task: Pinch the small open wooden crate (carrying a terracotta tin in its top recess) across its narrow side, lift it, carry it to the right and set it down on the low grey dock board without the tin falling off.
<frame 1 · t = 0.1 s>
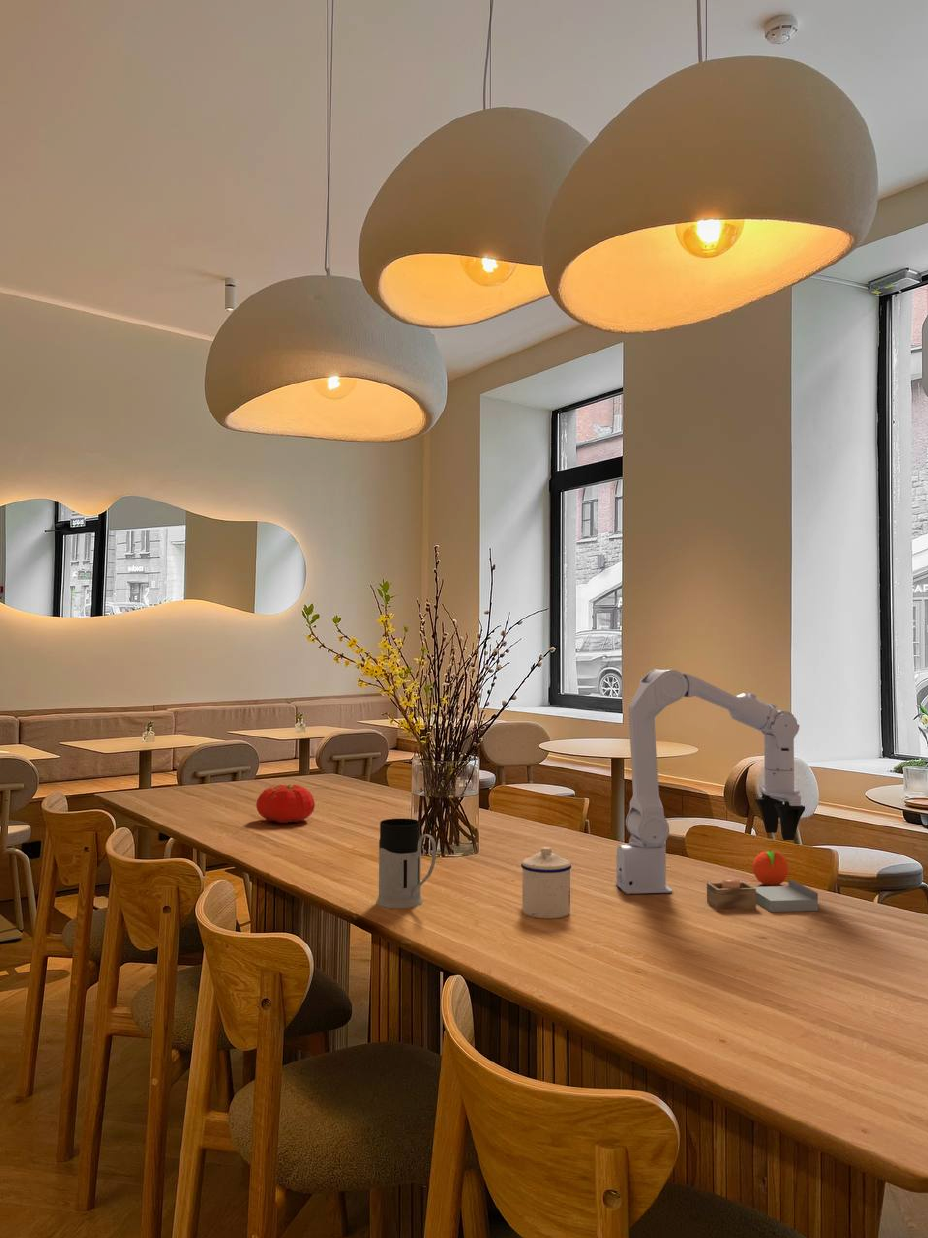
hand: (779, 836, 186), 10 cm above the table, tool pointing down, fingers open, 7 cm apart
red fruit: (770, 887, 185), on the table
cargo: (730, 891, 171), point 3 cm above the table, touching open wooden crate
open wooden crate: (731, 907, 171), on the table, touching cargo
tomato: (285, 822, 253), on the table
dock: (782, 903, 172), on the table
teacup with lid: (541, 911, 167), on the table
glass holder: (409, 905, 170), on the table
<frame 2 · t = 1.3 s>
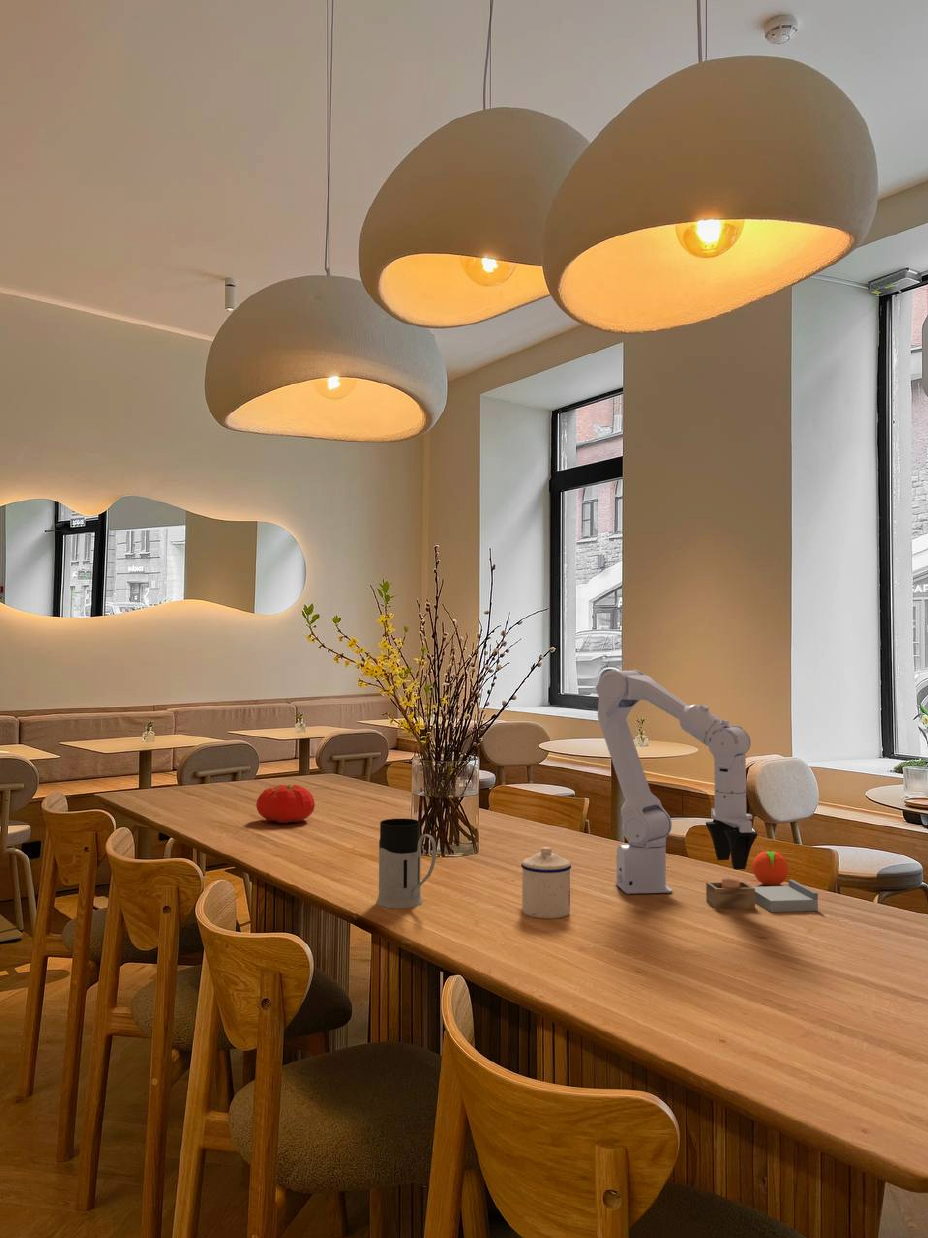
hand: (731, 864, 171), 8 cm above the table, tool pointing down, fingers open, 7 cm apart
nothing on the table moved.
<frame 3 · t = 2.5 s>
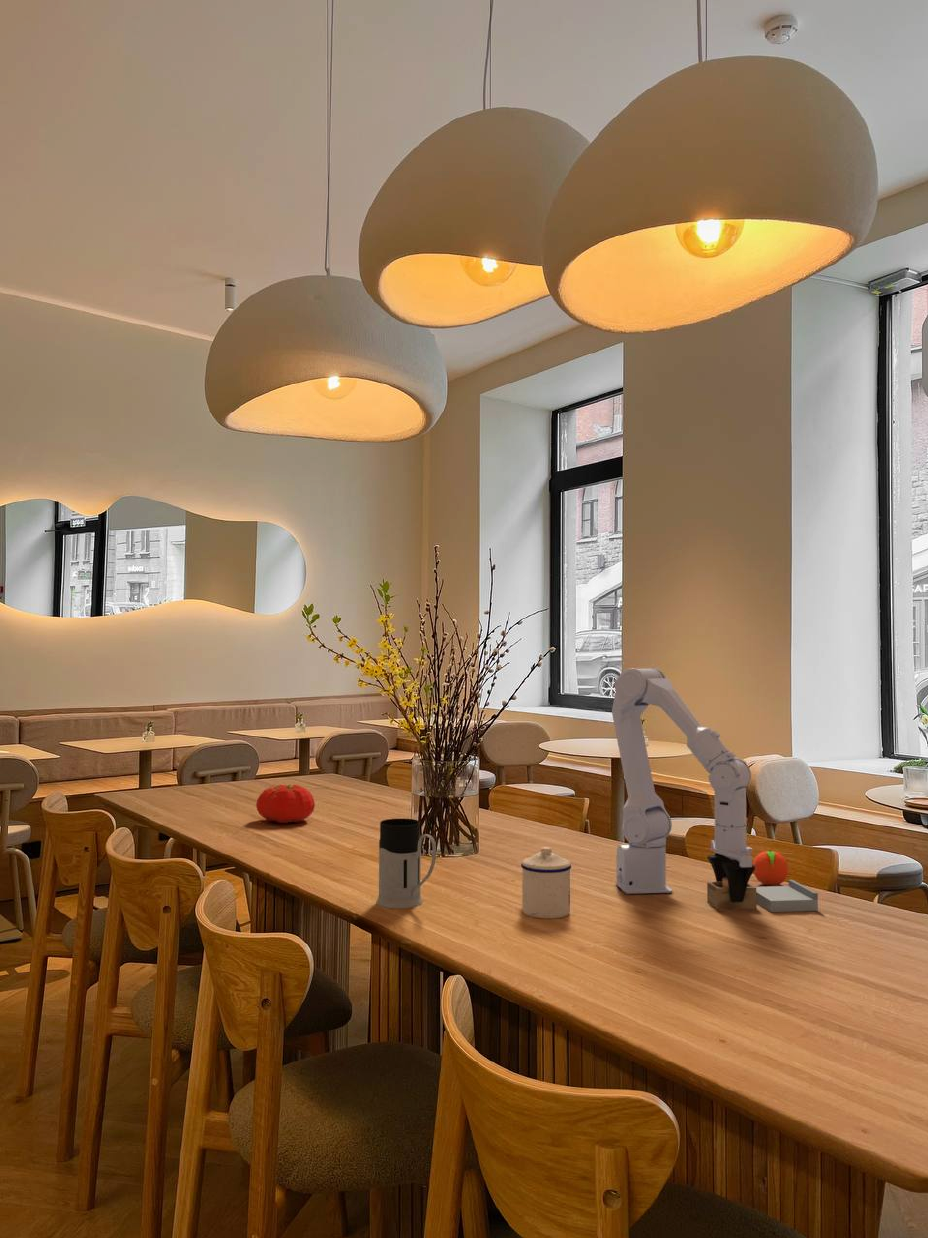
hand: (731, 897, 171), 1 cm above the table, tool pointing down, fingers closed on open wooden crate, 5 cm apart
open wooden crate: (731, 905, 171), on the table, touching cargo, gripper
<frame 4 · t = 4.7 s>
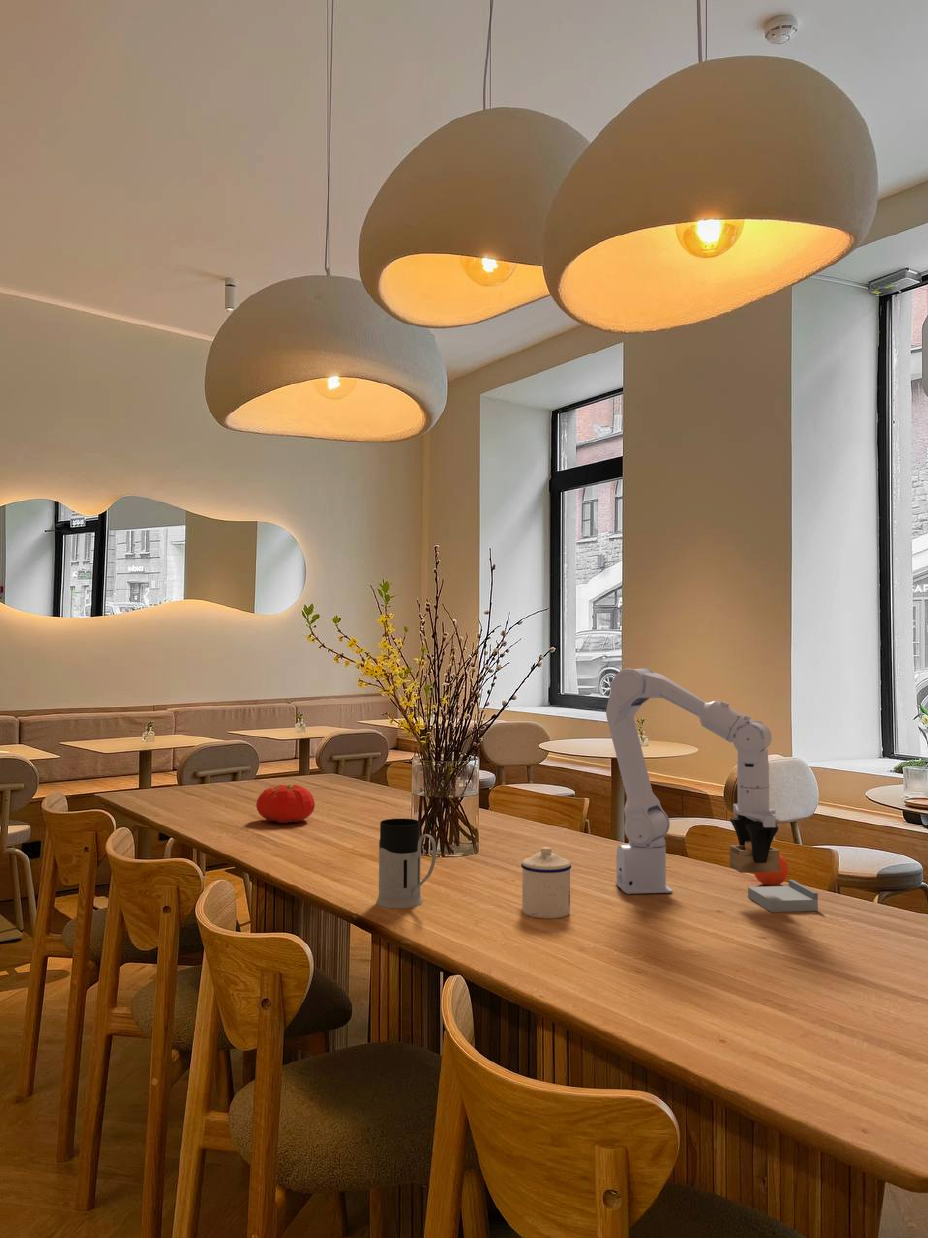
hand: (754, 859, 172), 8 cm above the table, tool pointing down, fingers closed on open wooden crate, 5 cm apart
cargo: (753, 853, 172), point 10 cm above the table, touching open wooden crate
open wooden crate: (754, 869, 171), point 7 cm above the table, touching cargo, gripper
everything else where it was.
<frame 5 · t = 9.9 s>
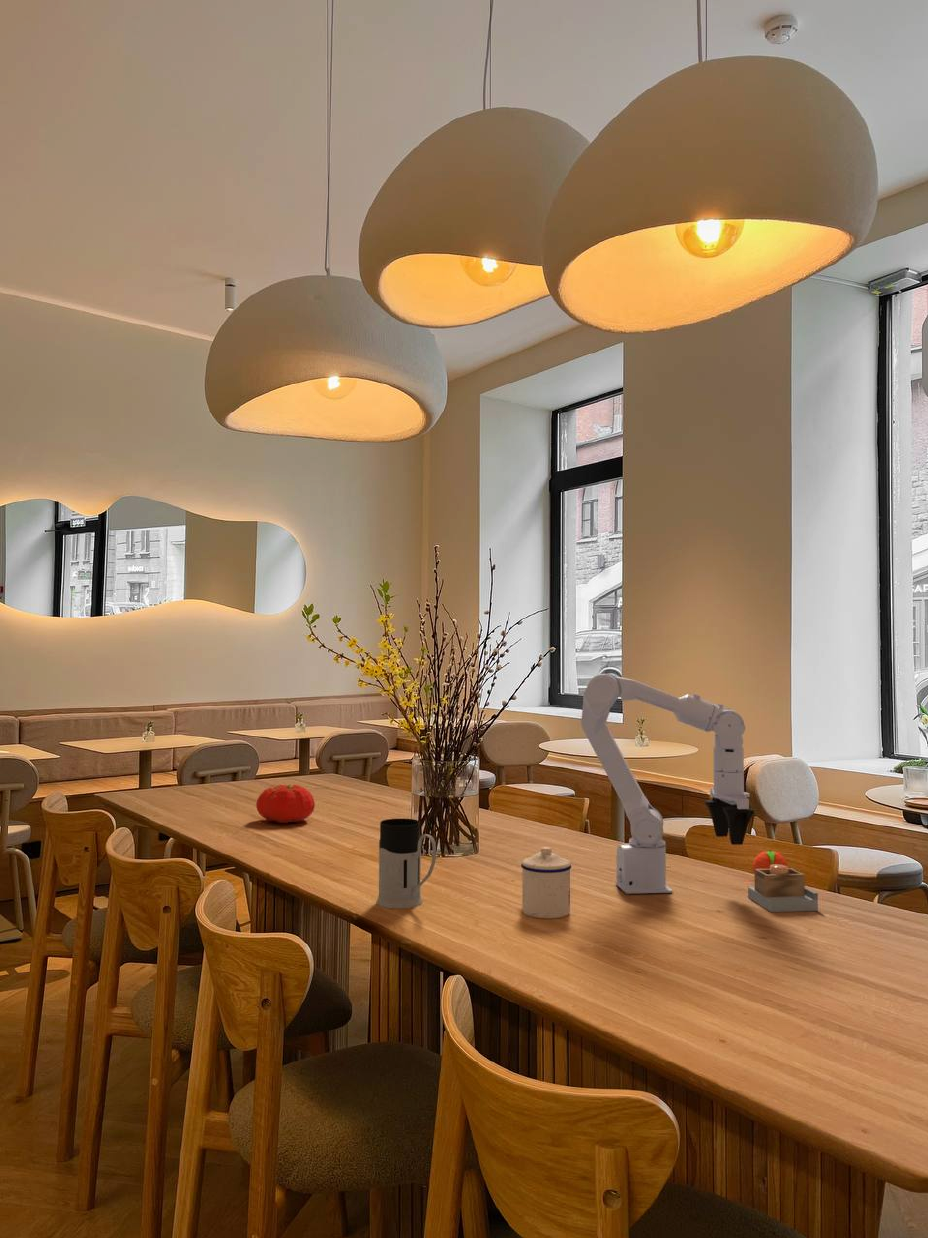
hand: (729, 840, 179), 10 cm above the table, tool pointing down, fingers open, 7 cm apart
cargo: (778, 876, 172), point 5 cm above the table, touching open wooden crate
open wooden crate: (779, 893, 172), point 2 cm above the table, touching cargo, dock
everything else where it was.
at the end: open wooden crate inside the target area on the dock (0.5 cm from its centre), point 2.0 cm above the dock's base; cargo 0.1 cm off-centre on the open wooden crate, point 3.0 cm above the open wooden crate's base; the gripper is holding nothing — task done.
